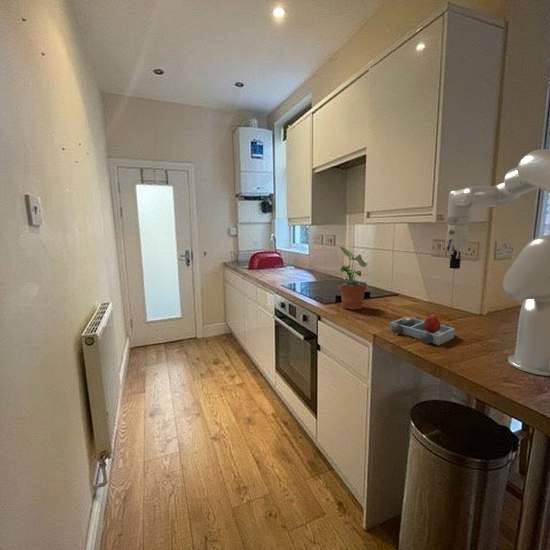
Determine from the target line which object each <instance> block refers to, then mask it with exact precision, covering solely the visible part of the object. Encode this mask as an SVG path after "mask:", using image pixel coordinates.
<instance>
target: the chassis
mask: <svg viewBox="0 0 550 550" xmlns="http://www.w3.org/2000/svg"><path fill="white" fill-rule="evenodd" d="M404 318H410V319H413V320H415V325H414V326H411V327H409V326H404V325H402V319H404ZM424 322H425V320H422V318H420V317H419V316H415V317H410V316H404V317H402V318H399V319H396V320H393V321H391V322H389V330H390V329H391V330H392V331H391V333H392V332H394V333H397V334H399V335H402V334H401V333H403V334H406V335H409V336H412V337H415V338H414V339H416V338H418V339H417V340H419V339H420V340H419V341H420V342H421V343H422V344H424V343H425V344H424V345H428V344H432V343H433V345H435V344H436V346H441V345H443V344H445V343H446V342H448V341H451V340H452V339H454V338H455V333H456V328H454V327H451V325H449V324H446V323H443V324H440V325H441V326H440V329H439V331H437V332H436V333H434V334H432V333H429V332H427V331H426V330H425V328H424ZM406 335H405V336H406ZM409 336H408V337H409ZM412 337H411V338H412ZM440 344H441V345H440Z"/></svg>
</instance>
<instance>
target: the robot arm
mask: <svg viewBox="0 0 550 550" xmlns="http://www.w3.org/2000/svg"><path fill="white" fill-rule="evenodd" d="M538 189H539V190H542V191H544V192H546V193H549V194H550V149H548V148H547V149H536V150H532V151H531V152H529V153H527V154H525V155H524V156H523V157H522V158H521V159H520V161H519V162H518V163H517V166H516V167H514V168H511V169H510V170H508V171H507V172H506V174H505V175H504V179H503V182H502V183H499V184H496V185H493V186H489V185H488V186H486V185H485V186H482V185H480V186H479V185H478V186H477V185H476V186H467V187H465V188H462V189H453V190H451V191H450V192H449V193H448V201H447V204H448V205H447V218H446V227H447V231H446V232H447V233H446V237H445V238H446V240H445V250H446V251H447V252H448V255H449V269H455V270H458V269H460V268H461V262H462V261H461V258H462V254H463V252H464V251H465V252H466V251H468V249H469V240H470V239H469V235H470V232H469V226H470V219H471V218H470V216H471V209H473V208H474V209H475V208H480V209H481V208H482V209H483V208H494V207H499V206H500V205H501V206H502V205H505V204H507V203H510V202H512V201H515V200H516V199H518V198H519V197H521V196H522V195H523V194H526V193H530V192H532V191H535V190H538ZM502 289H503V291H504V293H505V294H506V295H507V296H508V297H509V298H512V299H514V300H519V301H523V302H522V304H521V308H520V312H519V319H518V326H517V332H516V333H517V335H516V343H515V350H514V354H512V355H509V356H508V359H507V362H508V363H509V365H511V366H512V367H514V368H516V369H518V370H521V371H524V372H527V373H529V374H534V375H539V376H545V377H549V376H550V234H549V235H547V234H546V235H541V236H538V237H536V238H534V239H532V240H531V241H529V242H528V243H527V244H526V245H525V246H524V247H523V249H522V250H521V252H520V253H519V255H518V256H517V257H516V259H515V260H514V262H513V263H512V264H511V265H510V267H509V268H508V269H507V271H506V273H505V274H504V277H503V280H502Z"/></svg>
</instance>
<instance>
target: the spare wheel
mask: <svg viewBox="0 0 550 550" xmlns="http://www.w3.org/2000/svg"><path fill="white" fill-rule="evenodd" d="M403 318H404V317H403ZM402 325H404V326H409V327H411V326H414V325H415V320H413V319H410V318H404V319H402Z"/></svg>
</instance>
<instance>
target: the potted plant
mask: <svg viewBox="0 0 550 550" xmlns="http://www.w3.org/2000/svg"><path fill="white" fill-rule="evenodd" d="M340 250H341V251H342V252H343V254H344V255H346V257H347V258H348V260H349V262H348V263H349V265H342V266H341V268H340V269H339V270H340V271H341V272H342V273H346V275H344V277H345V280H343V281H341V282H339V283H338V289H339V291H340V294H341V295H340V296H341V297H340V298H341V305H342V308H343V309H345V310H349V309H350V310H361V309H362V307H363V302H364V295H365V291H366V290H367V286H368V285H367V282H366V281H365V282H364V281H358V280H355V278H356V276H357V275H358V276H359V277H362V271H361V270H356V268H354V269H353V266H354V264H352V265H351V261H352V260H353V262H352V263H354V262H355V266H354V267H356V265H357V263H358V265H359V266H360V267H361V268H366V267H367V266H368V265H369V262H365V261H364V260H363V258H362V255H361V254H360V253H359V254H358V255H355V254H354V253H352V252H351V251H349V250H348V249H346V248H344V247H343V246H340ZM355 270H356V271H355Z"/></svg>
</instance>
